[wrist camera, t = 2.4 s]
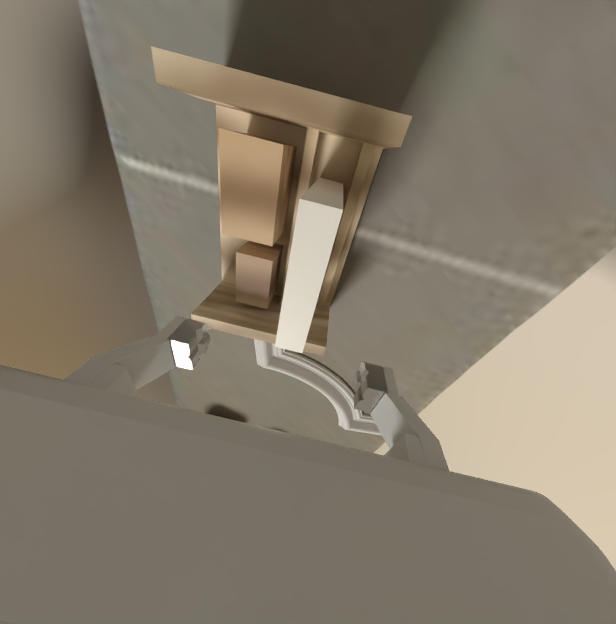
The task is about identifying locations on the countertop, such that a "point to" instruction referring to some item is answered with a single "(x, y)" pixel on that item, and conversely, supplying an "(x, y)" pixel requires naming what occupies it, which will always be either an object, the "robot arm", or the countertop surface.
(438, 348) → the countertop surface
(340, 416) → the molding
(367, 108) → the offcut rack
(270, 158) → the oak offcut
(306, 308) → the white square panel
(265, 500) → the robot arm
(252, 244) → the walnut offcut
